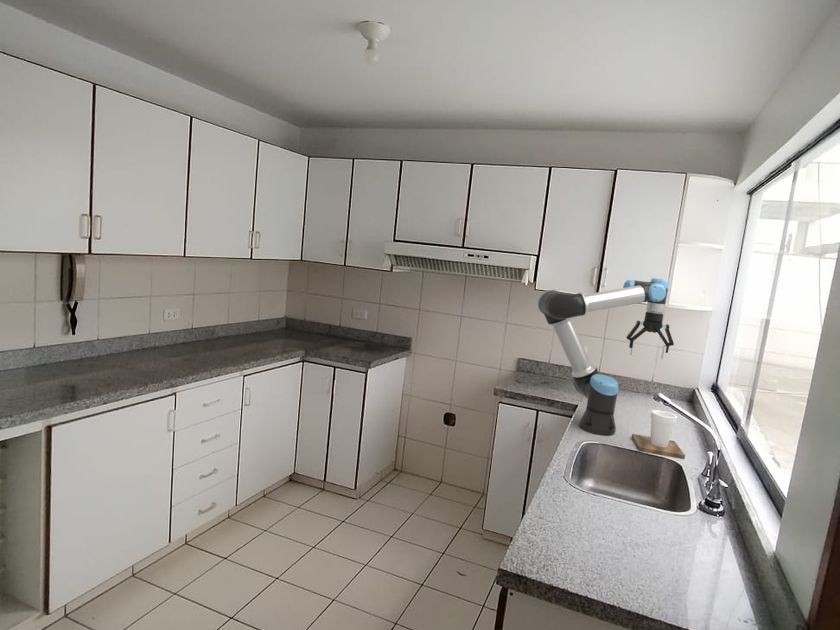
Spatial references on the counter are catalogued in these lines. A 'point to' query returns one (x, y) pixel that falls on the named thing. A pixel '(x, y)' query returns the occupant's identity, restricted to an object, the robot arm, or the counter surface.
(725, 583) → the counter surface
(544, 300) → the robot arm
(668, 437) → the foam cup
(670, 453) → the walnut board
